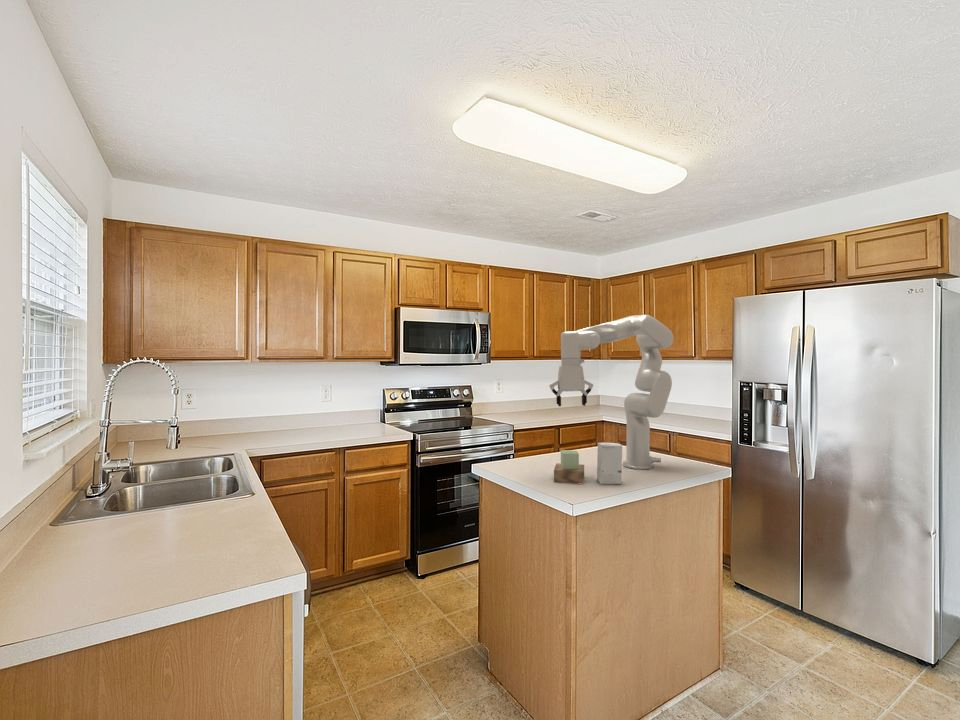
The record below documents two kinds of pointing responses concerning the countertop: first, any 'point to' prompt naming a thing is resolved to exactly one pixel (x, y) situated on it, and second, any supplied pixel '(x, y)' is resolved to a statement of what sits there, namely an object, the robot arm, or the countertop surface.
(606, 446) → the skincare box
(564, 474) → the walnut block
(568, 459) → the sage cube
